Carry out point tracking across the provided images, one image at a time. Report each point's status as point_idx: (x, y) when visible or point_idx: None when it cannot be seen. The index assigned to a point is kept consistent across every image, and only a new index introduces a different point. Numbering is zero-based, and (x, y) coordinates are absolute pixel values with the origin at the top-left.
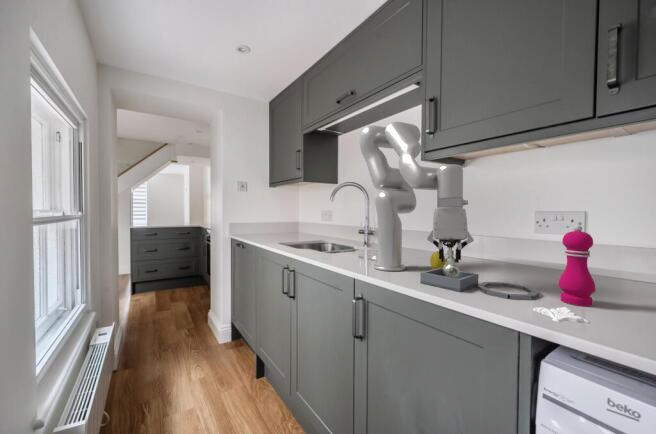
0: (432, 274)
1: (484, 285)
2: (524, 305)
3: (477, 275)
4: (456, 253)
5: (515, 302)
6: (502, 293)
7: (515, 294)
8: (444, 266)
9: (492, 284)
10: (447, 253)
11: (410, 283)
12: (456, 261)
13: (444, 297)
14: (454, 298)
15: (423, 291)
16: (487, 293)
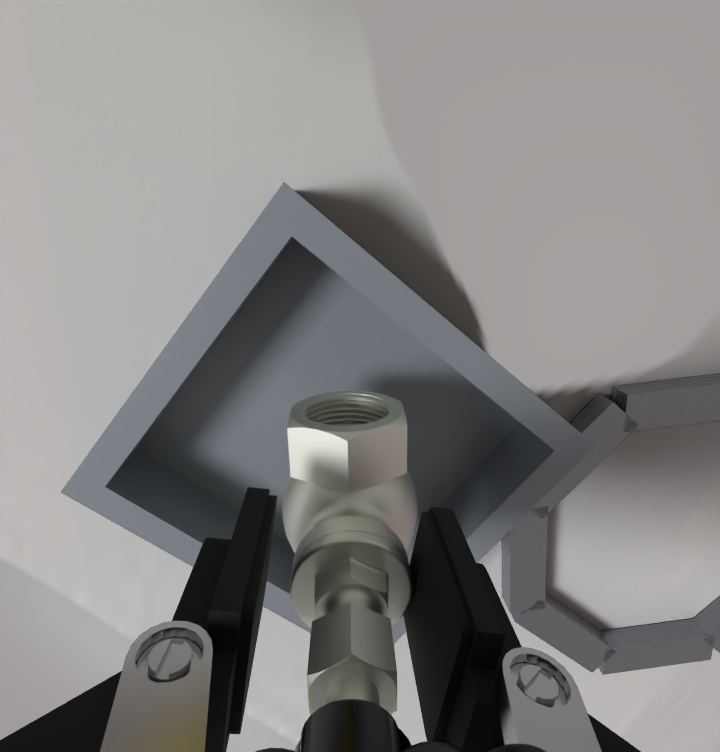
0: (176, 545)
1: (564, 494)
2: (604, 720)
3: (576, 457)
4: (424, 706)
5: (588, 692)
6: (581, 650)
7: (642, 652)
8: (291, 476)
9: (646, 425)
10: (311, 638)
11: (29, 463)
12: (406, 611)
13: (256, 701)
14: (307, 704)
15: (140, 630)
16: (513, 612)
